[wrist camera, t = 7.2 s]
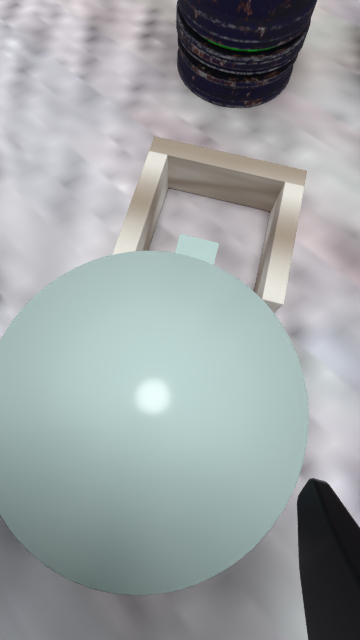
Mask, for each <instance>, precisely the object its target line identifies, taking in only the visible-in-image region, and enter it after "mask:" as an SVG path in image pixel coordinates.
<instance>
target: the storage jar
mask: <svg viewBox="0 0 360 640" xmlns="http://www.w3.org/2000/svg"><path fill="white" fill-rule="evenodd" d="M316 2H317V0H178V1H177V20H176V23H177V24H176V28H177V33H178V47H179V49H178V63H177V65H178V71H179V74H180V76H181V79H182V80H183V82H184V83H185V85H186V86H187V87H188V88H189V89H190V90H191V91H192V92H193V93H194V94H196V95H197V96H199V97H200V98H202V99H204V100H206V101H208V102H210V103H213V104H216V105H220V106H224V107H230V108H246V107H253V106H257V105H260V104H263V103H266V102H268V101H270V100H272V99H273V98H275V97H276V96H277V95H279V94H280V93H281V92H282V90H283V89H284V88H285V87H286V85H287V83H288V81H289V78H290V75H291V72H292V69H293V64H294V63H295V61H296V58H297V56H298V53H299V51H300V50H301V48H302V46H303V43H304V40H305V38H306V35H307V32H308V29H309V26H310V21H311V16H312V13H313V11H314V8H315V5H316Z"/></svg>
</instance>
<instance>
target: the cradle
mask: <svg viewBox="0 0 360 640" xmlns="http://www.w3.org/2000/svg"><path fill="white" fill-rule="evenodd" d="M306 174H307V171H305V170H301V169H297V168H292V167H288V166H283V165H279V164H274V163H270V162H266V161H261V160H257V159H252V158H248V157H244V156H239V155H235V154H230V153H226V152H221V151H217V150H213V149H208V148H204V147H199V146H195V145H190V144H186V143H182V142H177V141H173V140H168V139H164V138H160V137H155V136H154V139H153V142H152V145H151V147H150V150H149V153H148V156H147V159H146V161H145V164H144V167H143V170H142V173H141V176H140V178H139V181H138V184H137V187H136V190H135V192H134V195H133V198H132V201H131V204H130V206H129V209H128V212H127V215H126V218H125V221H124V223H123V226H122V229H121V232H120V235H119V237H118V240H117V243H116V246H115V249H114V251H113V254H112V255H114V254H119V253H125V252H133V251H148V249H149V246H150V243H151V240H152V237H153V233H154V230H155V227H156V224H157V221H158V218H159V215H160V212H161V209H162V205H163V202H164V199H165V196H166V193H167V190H168V188H172V189H177V190H181V191H185V192H189V193H194V194H198V195H202V196H206V197H211V198H215V199H219V200H224V201H228V202H232V203H236V204H241V205H245V206H249V207H253V208H258V209H262V210H266V211H270V216H269V221H268V226H267V231H266V236H265V241H264V245H263V250H262V255H261V260H260V265H259V270H258V274H257V279H256V284H255V289H254V292H255V293H256V294H257V295H258V296H259V297H260V298H261V299H262V300H263V301H264V302H265V303H266V304H267V305H268V307H269V308H270V309H271V310H272V312H273V313H275V312H276V311H277V310H278V309H279V308H280V307H281V306H282V305H283V304H284V299H285V293H286V288H287V282H288V276H289V271H290V265H291V259H292V254H293V248H294V242H295V236H296V231H297V225H298V219H299V214H300V208H301V202H302V196H303V191H304V185H305V179H306Z"/></svg>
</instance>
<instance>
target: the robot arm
mask: <svg viewBox="0 0 360 640" xmlns="http://www.w3.org/2000/svg"><path fill="white" fill-rule="evenodd" d="M297 516H298V548H299V569H300V578H301V586H302V594H303V602H304V610H305V618H306V625H307V633H308V640H360V527H359V526H358V525H357V523H356V522H355V520H354V519H353V518H352V516H351V515H350V513H349V512H348V510H347V509H346V508H345V506H344V505H343V503H342V502H341V501H340V499H339V498H338V496H337V495H336V494H335V492H334V491H333V489H332V488H331V487H330V485H329V484H328V483H327V482H325V481H322V480H318V479H315V478H311V479H309V480H308V482H307V483H306V485H305V486H304V488H303V489H302V491H301V492H300V494H299V496H298V500H297Z"/></svg>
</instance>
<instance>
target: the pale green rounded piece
mask: <svg viewBox="0 0 360 640" xmlns="http://www.w3.org/2000/svg"><path fill="white" fill-rule="evenodd" d="M218 245H219V243H216V242H212V241H208V240H204V239H200V238H195V237H191V236H187V235H183V234H180V237H179V241H178V244H177V248H176V251H175V253H172V252H163V251H133V252H125V253H119V254H114V255H109V256H106V257H103V258H99V259H96V260H93V261H90V262H88V263H86V264H83V265H81V266H79V267H76V268H74V269H73V270H71V271H69V272H67V273H66V274H64V275H62V276H60V277H59V278H57V279H56V280H55V281H53V282H52V283H50V284H49V285H48V286H46V287H45V288H44V289H42V290H41V291H40V292H39V293H38V294H37V295H36V296H35V297H34V298H33V299H32V300H31V301H29V302H28V303H27V304H26V306H25V307H24V308H23V309H22V310H21V312H20V313H19V314H18V315H17V316H16V317H15V319H14V320H13V321H12V323H11V324H10V326H9V327H8V329H7V330H6V332H5V333H4V335H3V336H2V338H1V340H0V515H1V517H2V518H3V520H4V522H5V523H6V525H7V526H8V528H9V529H10V531H11V532H12V534H13V535H14V536H15V537H16V538H17V539H18V540H19V541H20V543H21V544H22V545H23V546H24V547H25V548H26V549H27V550H28V551H29V552H30V553H31V554H32V555H33V556H35V557H36V558H37V559H38V560H39V561H41V562H42V563H43V564H44V565H45V566H47V567H48V568H50V569H52V570H53V571H55V572H57V573H58V574H60V575H62V576H63V577H65V578H67V579H68V580H71V581H74V582H76V583H79V584H81V585H84V586H86V587H89V588H91V589H95V590H100V591H104V592H109V593H113V594H124V595H140V596H141V595H151V594H161V593H168V592H172V591H176V590H180V589H183V588H187V587H191V586H193V585H195V584H198V583H200V582H202V581H205V580H207V579H209V578H212V577H214V576H215V575H217V574H219V573H220V572H222V571H224V570H225V569H227V568H228V567H230V566H232V565H233V564H235V563H236V562H237V561H238V560H240V559H241V558H242V557H243V556H244V555H246V554H247V553H248V552H249V551H250V550H252V549H253V548H254V547H255V546H256V545H257V543H258V542H259V541H260V540H261V539H262V538H263V537H264V536H265V535H266V533H267V532H268V531H269V530H270V529H271V527H272V526H273V525H274V523H275V522H276V520H277V519H278V517H279V516H280V514H281V513H282V511H283V510H284V508H285V506H286V504H287V502H288V500H289V498H290V496H291V494H292V492H293V490H294V488H295V485H296V482H297V479H298V476H299V474H300V471H301V468H302V465H303V460H304V455H305V450H306V445H307V436H308V423H309V415H308V397H307V391H306V385H305V380H304V375H303V372H302V368H301V365H300V362H299V359H298V356H297V353H296V351H295V349H294V347H293V344H292V342H291V340H290V338H289V336H288V334H287V332H286V331H285V329H284V328H283V326H282V324H281V323H280V321H279V319H278V318H277V317H276V315H275V314H274V313H273V312H272V310H271V309H270V308H269V307H268V305H267V304H266V303H265V302H264V301H263V300H262V299H261V298H260V297H259V296H258V295H257V294H256V293H255V292H254V291H253V290H252V289H251V288H249V287H248V286H247V285H245V284H244V283H243V282H242V281H240V280H239V279H238V278H236V277H235V276H233V275H231V274H230V273H228V272H226V271H225V270H223V269H221V268H219V267H217V266H215V265H214V261H215V257H216V253H217V249H218Z"/></svg>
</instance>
